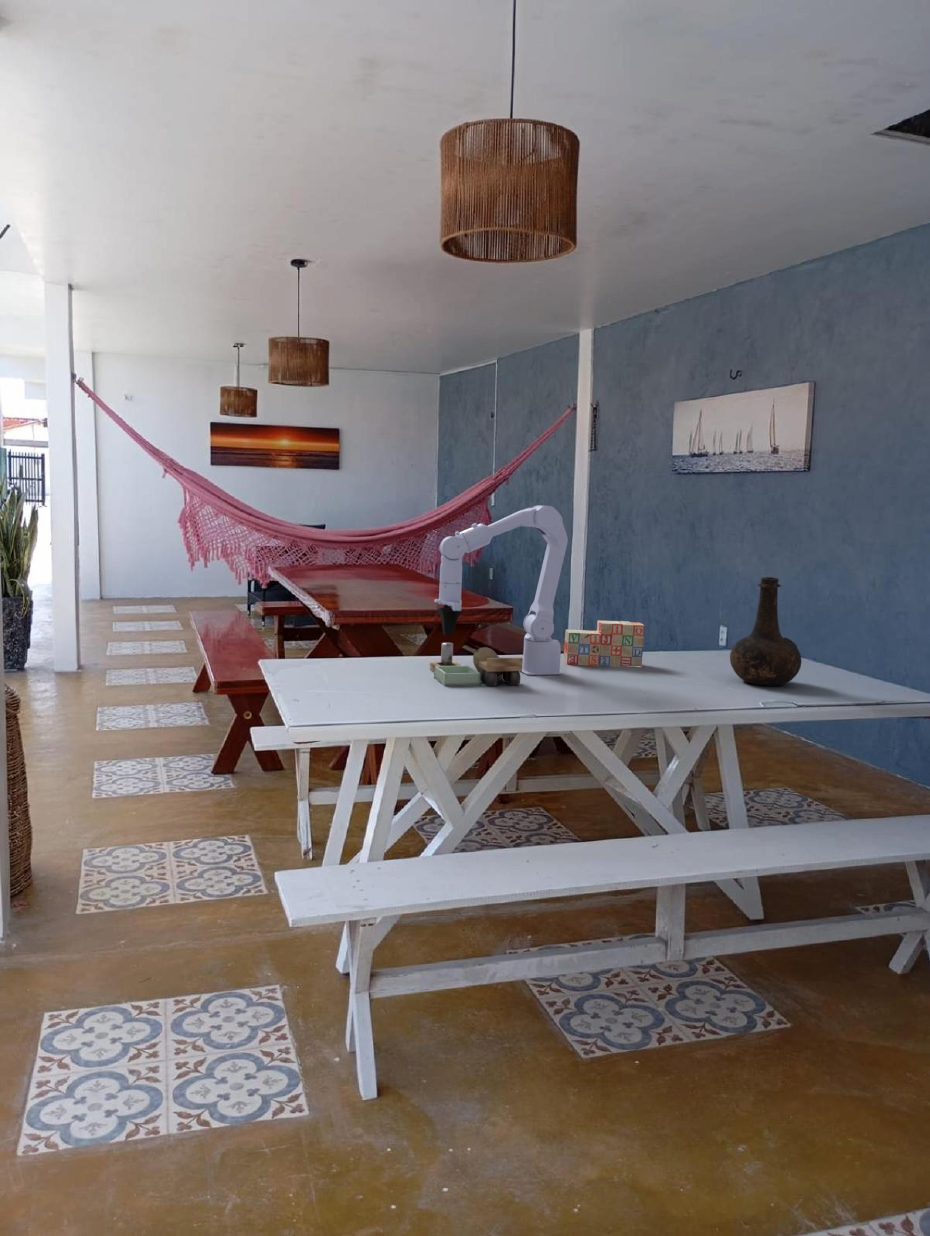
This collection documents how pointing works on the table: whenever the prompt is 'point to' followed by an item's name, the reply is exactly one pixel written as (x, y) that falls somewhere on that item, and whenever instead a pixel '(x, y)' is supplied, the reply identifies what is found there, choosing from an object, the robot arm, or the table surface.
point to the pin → (446, 654)
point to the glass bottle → (766, 645)
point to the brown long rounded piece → (484, 658)
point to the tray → (457, 675)
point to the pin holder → (440, 665)
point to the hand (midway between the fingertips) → (448, 635)
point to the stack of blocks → (606, 645)
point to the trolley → (501, 664)
